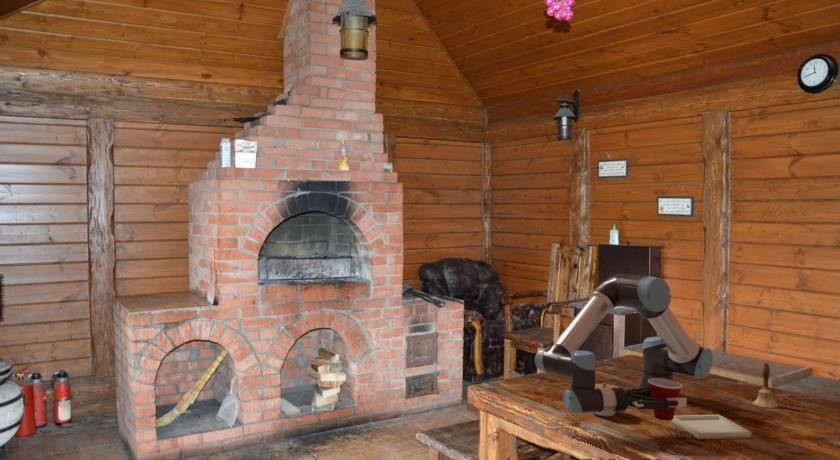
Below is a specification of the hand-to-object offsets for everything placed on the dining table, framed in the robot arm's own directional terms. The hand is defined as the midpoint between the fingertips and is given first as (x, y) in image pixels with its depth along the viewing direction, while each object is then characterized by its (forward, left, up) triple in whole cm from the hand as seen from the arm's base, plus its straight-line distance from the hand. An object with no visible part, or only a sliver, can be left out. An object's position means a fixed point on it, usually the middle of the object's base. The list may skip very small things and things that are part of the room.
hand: (678, 397), depth 207 cm
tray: (-4, +14, -12) cm, 19 cm away
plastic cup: (0, -4, -7) cm, 8 cm away
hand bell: (-28, +51, -12) cm, 59 cm away
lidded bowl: (-23, -15, -12) cm, 30 cm away
